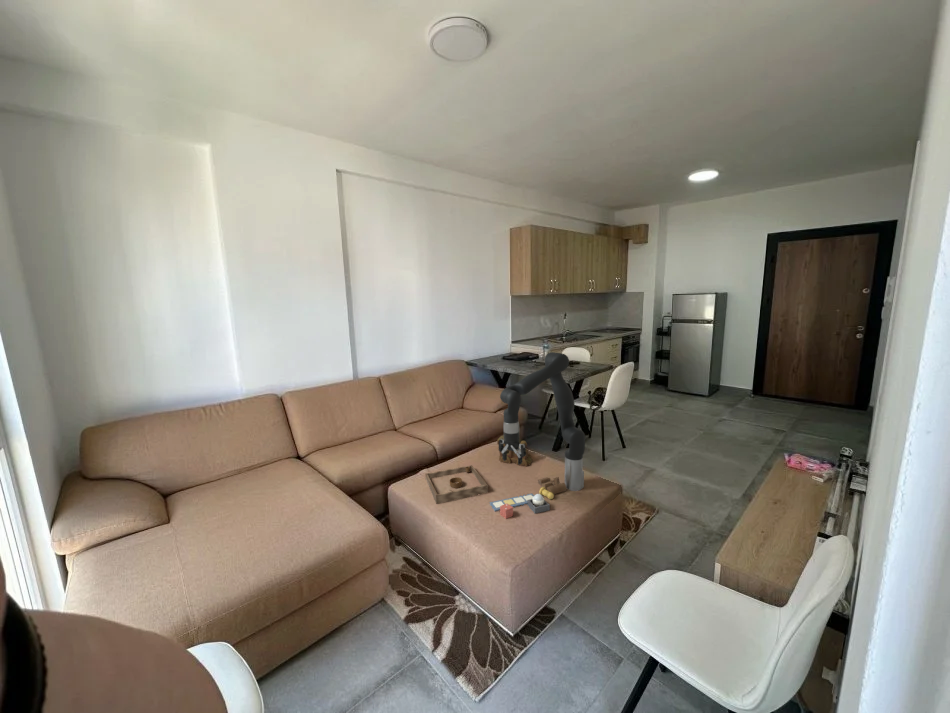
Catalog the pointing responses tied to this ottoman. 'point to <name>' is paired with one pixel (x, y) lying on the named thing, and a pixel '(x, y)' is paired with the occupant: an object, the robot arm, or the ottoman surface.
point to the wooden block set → (550, 487)
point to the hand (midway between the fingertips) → (512, 462)
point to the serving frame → (458, 493)
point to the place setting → (457, 480)
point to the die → (506, 511)
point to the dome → (538, 500)
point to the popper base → (540, 508)
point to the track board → (511, 501)
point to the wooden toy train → (515, 455)
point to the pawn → (546, 493)
